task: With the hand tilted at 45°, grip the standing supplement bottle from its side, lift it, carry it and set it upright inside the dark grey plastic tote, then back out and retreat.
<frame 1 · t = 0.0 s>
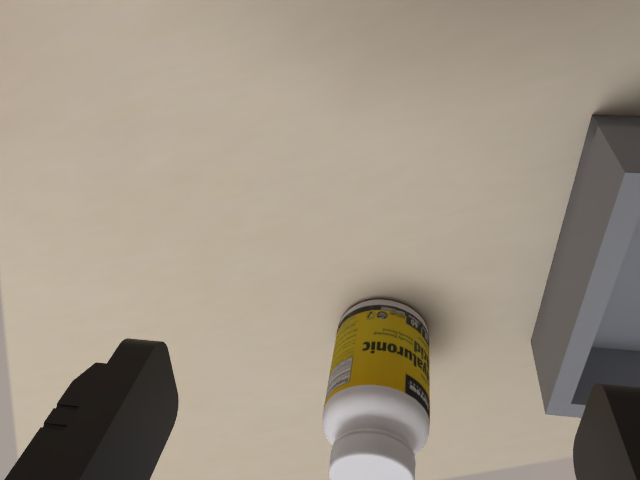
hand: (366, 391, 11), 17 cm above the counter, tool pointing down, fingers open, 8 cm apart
supplement bottle: (383, 326, 34), on the counter
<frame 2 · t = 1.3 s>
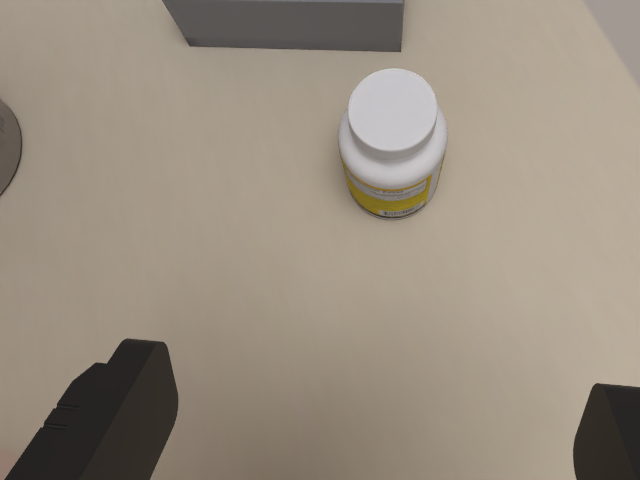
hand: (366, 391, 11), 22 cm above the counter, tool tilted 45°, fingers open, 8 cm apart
supplement bottle: (391, 179, 35), on the counter
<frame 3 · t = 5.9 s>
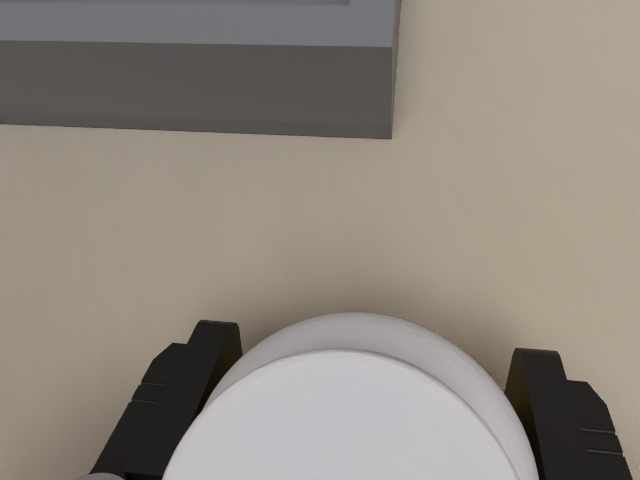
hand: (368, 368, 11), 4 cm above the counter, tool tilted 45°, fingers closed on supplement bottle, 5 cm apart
supplement bottle: (370, 435, 15), on the counter, touching gripper
when the fingers open (7 cm above the counter, at t = 11.0 s): supplement bottle drops 2 cm, resting on tote.
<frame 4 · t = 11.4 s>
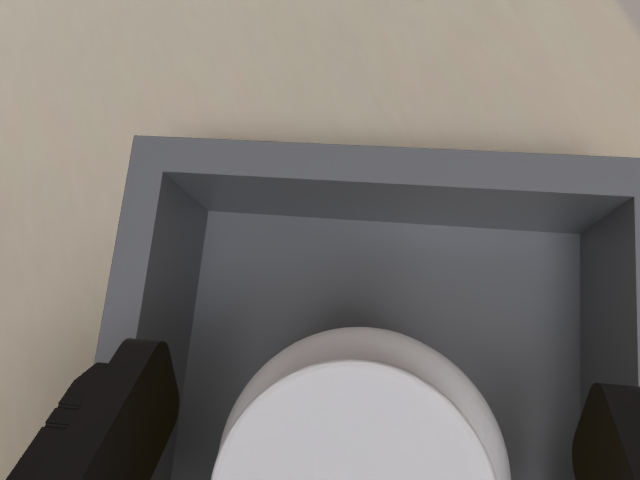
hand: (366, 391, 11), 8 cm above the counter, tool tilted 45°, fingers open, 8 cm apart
supplement bottle: (367, 433, 17), point 1 cm above the counter, touching tote
tote: (371, 427, 18), on the counter
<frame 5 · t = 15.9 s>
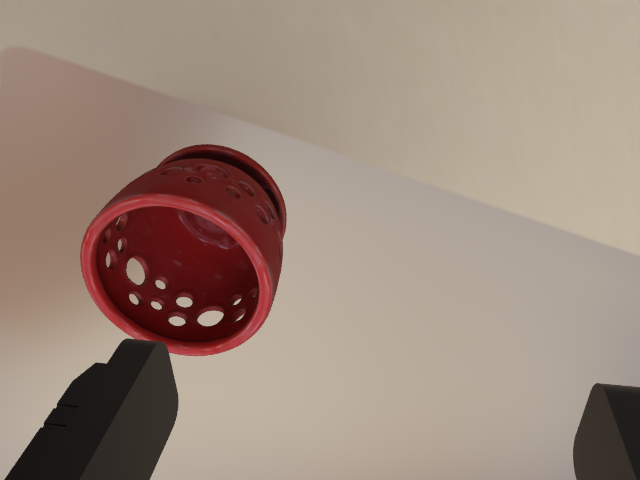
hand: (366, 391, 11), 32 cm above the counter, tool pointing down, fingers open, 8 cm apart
plant pot: (225, 198, 47), on the counter
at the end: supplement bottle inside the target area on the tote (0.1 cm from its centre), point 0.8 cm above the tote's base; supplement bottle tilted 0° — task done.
